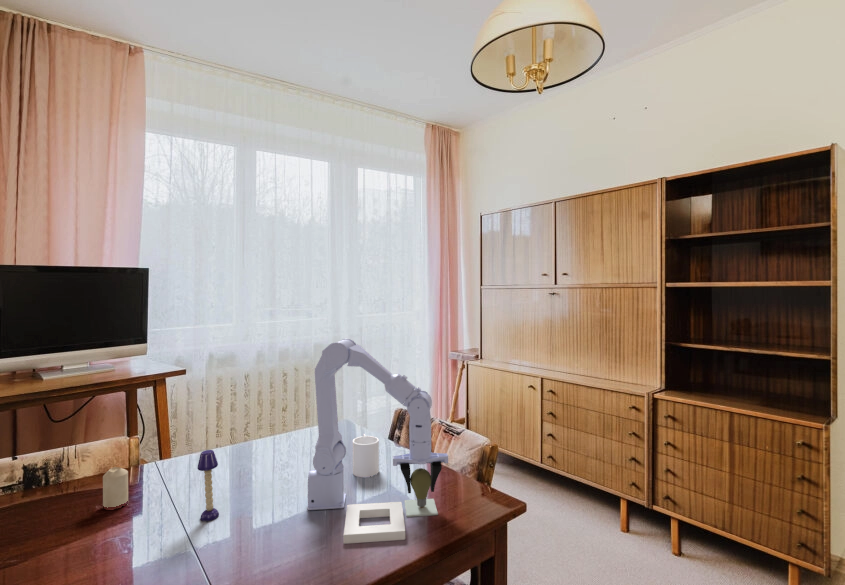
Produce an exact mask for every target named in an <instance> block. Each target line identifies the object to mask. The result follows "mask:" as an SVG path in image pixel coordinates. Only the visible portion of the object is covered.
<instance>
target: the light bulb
mask: <svg viewBox="0 0 845 585" xmlns="http://www.w3.org/2000/svg"><path fill="white" fill-rule="evenodd" d="M410 485H411V489H413V492H414V495H415V498H416V500H417V505H418V506H419V507H420V508H423V507H424V506H425V505H426V499H427V497H428V494H429V490H430V485H431V472H430V471H428V470H427V469H425V468H424V467H423V468H421V467H418V468H416V469H414V470H413V472H412V473H411V474H410Z"/></svg>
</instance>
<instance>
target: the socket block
mask: <svg viewBox="0 0 845 585" xmlns="http://www.w3.org/2000/svg"><path fill="white" fill-rule="evenodd" d="M382 517H383V518H385V517H389V524H388V523H387V524H377V525H375V524H373V525H360V521H361V519H370V518H371V519H372V518H382ZM404 517H405V516H404V510H403V503H402V501H391V502H390V501H388V502H373V503H355V504H353V503H352V504H347V505H346V513H345V521H344V528H343V545H345V544H360V543H375V542H389V541H404V540H406V526H405V525H406V524H405V518H404Z"/></svg>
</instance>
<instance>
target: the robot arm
mask: <svg viewBox="0 0 845 585" xmlns="http://www.w3.org/2000/svg"><path fill="white" fill-rule="evenodd" d="M346 364H347V367H354V368H355V367H356V368H357V367H360V368H361V369H362V370H364V371H365V372H367V373H368V374H370V376H372V377H374V378H375V379H376V380H378V381H380V382H381V383H382V384H384V388H385V392H386V393H387V394H388V395H389V396H391V397H392V398H393V399H395V401H397V402H398V403H399V404H401V405H402V406H403V407H406V410H407V413H408V414H409V423H408V424H409V426H408V428H409V429H408V431H409V453H404V454H400V455H399V454H398V455H392V466H393V467H397V466H400V467H399V468H400V472H401V473H402V475H403V477H404V480H405V484H406V486H407V487H406V488H407V493H408V494H411V493H412V486H411V483H410V478H411V465H426V464H430V466H429V467H430V475H431V485H430V488H429V490H430V492H431V493H434V492H435V487H436V485H437V484H436V483H437V481H438V477H439V475H440V473H441V472H442V467H443V466H442V463H444V464H449V455H448V453H447V452H445V453H443V452H442V453H441V452H432V421H431V418H432V416H431V408H432V405H433V400H432V399H433V398H431V396H430V394H429V393H428V392H427V391H426V390H422V389H421V387H416V386H415V385H414V384H413V383H411V382H410V381H409V380H407V379H408V376H406V375H405V374H403V375H401V374H400V373H396V374H395V373H394V374H393V373H392V372H390V371H389V370H388V369H387V368H386V367H385V366H383V365H382V364H381V363H380V362H379V361H378V360H377V359H376V358H375V357H373V356H372V355H371V354H370V353H369V352H368V351H367V350H366V349H365V348H364V347H362V345H360V344H358V343H356V342H355V341H354V340H353V339H351V338H342V339H341V340H339V341H335V342H332V343H330V344H328V345H327V346H326V347H325V348H324V349H323V350H322V351H321V356H320V357H319V360H318V362H317V364H316V366H315V368H314V383H315V384H314V385H315V396H316V413H317V415H316V416H317V425H318V427H317V428H318V436H317V440H316V443H315V447H314V449H315V453H314V456H313V457H312V465H313V468H314V469H310V470H309V471H308V476H307V510H308V511H316V510H317V511H318V510H335V509H344V508H345V505H346V504H345V503H346V499H347V498H346V496H347V493H346V492H344V490H345V489H344V486H345V484H344V483H345V482H344V479H345V478H344V475H345V474H344V473H345V472H344V464H343V460H344V458H345V457H346V454H347V447H346V446H345V443H344V441H343V435H342V434H341V433H340V431H339V423H338V422H339V419H338V417H339V416H338V406H337V405H338V404H337V388H336V376H335V375H336V374H337V373H338V371H340V370H341V369H342V367H343V366H345V365H346Z"/></svg>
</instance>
